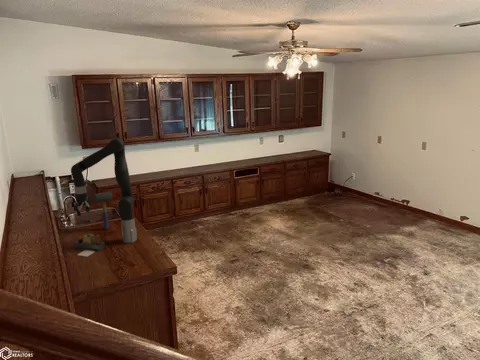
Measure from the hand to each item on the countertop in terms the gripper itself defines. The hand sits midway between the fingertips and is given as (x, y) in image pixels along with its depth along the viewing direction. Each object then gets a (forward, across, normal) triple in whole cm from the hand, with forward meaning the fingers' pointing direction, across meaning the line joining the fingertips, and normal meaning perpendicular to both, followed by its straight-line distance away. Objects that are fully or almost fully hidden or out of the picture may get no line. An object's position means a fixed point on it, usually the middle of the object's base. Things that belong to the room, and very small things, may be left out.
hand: (83, 214), depth 259 cm
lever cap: (+18, -5, -7) cm, 20 cm away
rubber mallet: (+22, +26, +4) cm, 35 cm away
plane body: (+22, -6, -7) cm, 24 cm away
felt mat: (+22, -14, -11) cm, 29 cm away
